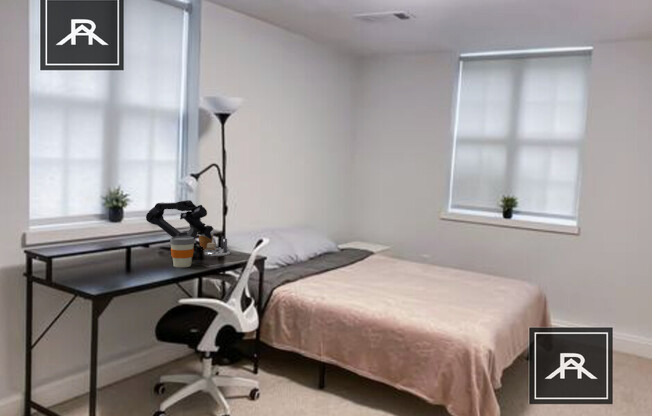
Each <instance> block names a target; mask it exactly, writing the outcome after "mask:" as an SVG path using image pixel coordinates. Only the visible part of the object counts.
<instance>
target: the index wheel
mask: <svg viewBox="0 0 652 416" xmlns="http://www.w3.org/2000/svg"><path fill="white" fill-rule="evenodd" d="M222 240H223V243H222V244H223V245H222V246H223V247H221V246H220V247H215V250H207V248H205V249H204V250H203V252H204V255H205V256H208V257H209V256H210V257H224V256H228V255H230V254H231V250H230V249H228V238H223V239H222Z"/></svg>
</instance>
